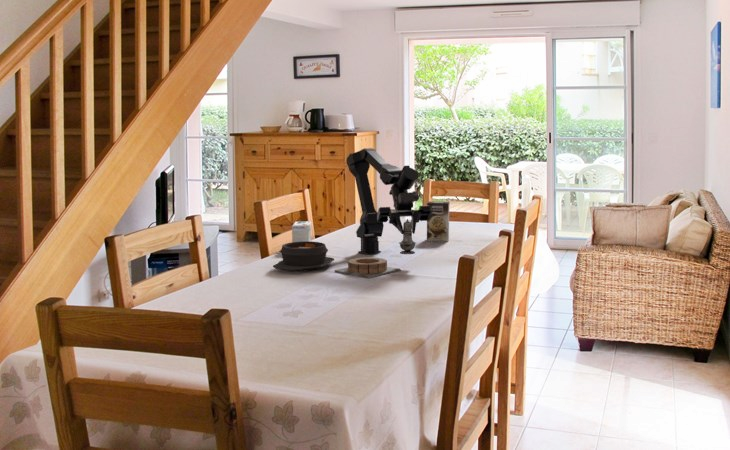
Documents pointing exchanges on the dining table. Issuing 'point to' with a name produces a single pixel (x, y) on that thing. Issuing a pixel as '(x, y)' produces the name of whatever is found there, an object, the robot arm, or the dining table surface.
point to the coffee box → (438, 222)
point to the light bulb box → (301, 231)
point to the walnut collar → (367, 267)
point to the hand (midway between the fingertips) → (408, 233)
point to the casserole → (303, 256)
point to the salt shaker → (407, 239)
